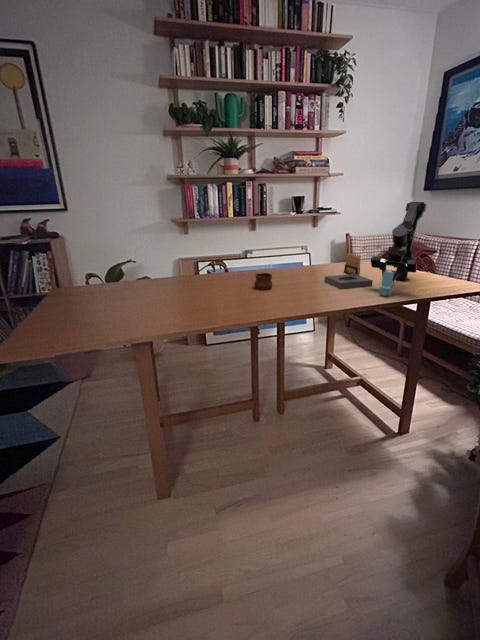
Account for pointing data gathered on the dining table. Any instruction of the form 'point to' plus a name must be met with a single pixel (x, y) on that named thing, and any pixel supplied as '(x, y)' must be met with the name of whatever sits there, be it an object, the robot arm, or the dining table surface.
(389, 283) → the servo
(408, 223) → the robot arm
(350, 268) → the ammunition clip
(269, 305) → the dining table surface
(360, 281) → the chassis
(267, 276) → the ceramic pot
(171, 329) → the dining table surface
